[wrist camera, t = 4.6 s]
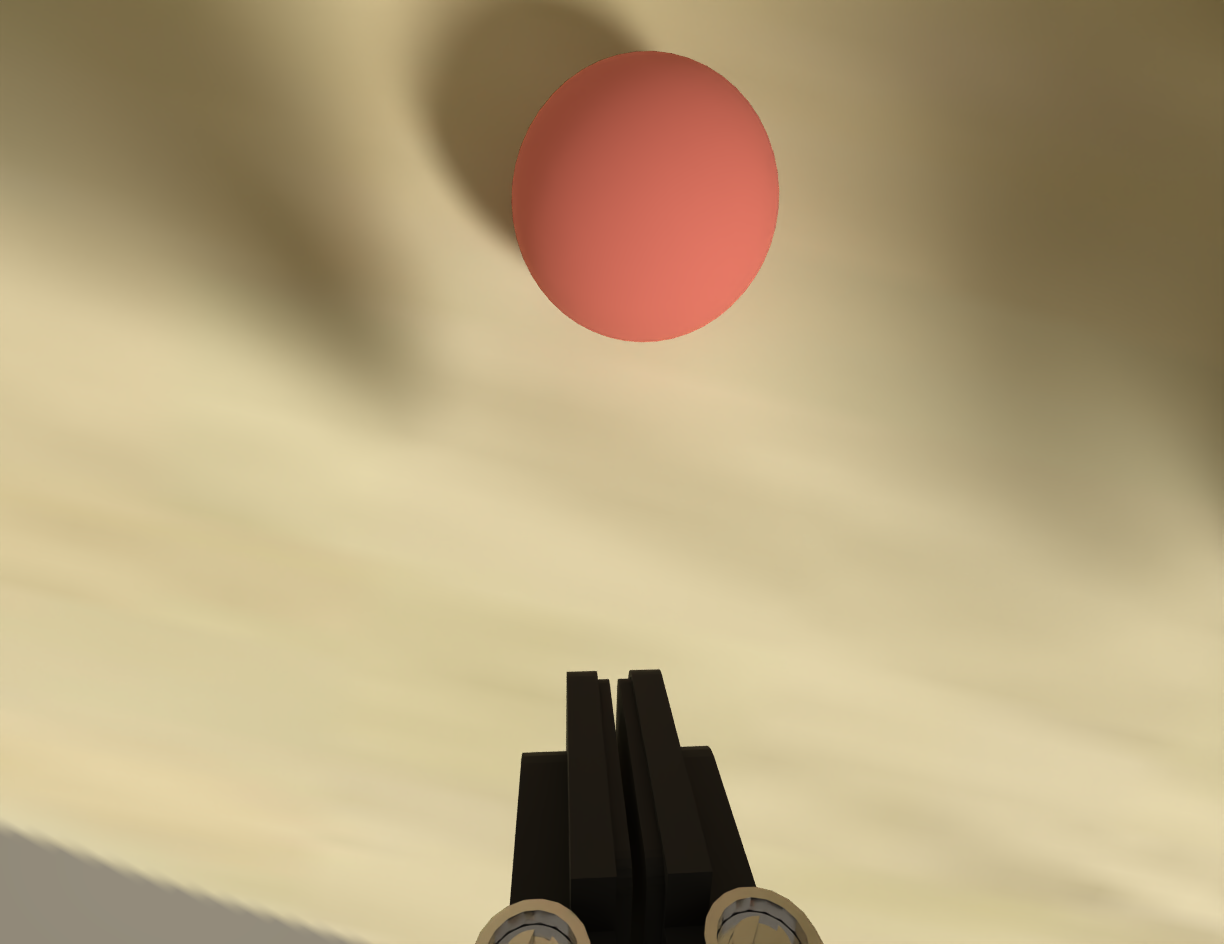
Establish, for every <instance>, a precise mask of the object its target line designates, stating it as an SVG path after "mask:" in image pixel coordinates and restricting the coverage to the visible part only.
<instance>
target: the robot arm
mask: <svg viewBox="0 0 1224 944" xmlns="http://www.w3.org/2000/svg"><path fill="white" fill-rule="evenodd" d="M475 944H823V942H822V940H821V938H820V936H819V934H818V933H817V931H816V929H815V927H814V926H813V925H812V923H811V922H810V920H809V919H808V918H807V916H806V915H805V913H804V912H803V911H802V910H800V909H799V908H798V907H797V906H796V905H795V904H793V903H792V902H791V901H790V900H789V899H787V898H785V897H783V896H781V895H779V894H777V893H775V892H774V891H771V890H767V889H763V888H758V887H756V885H755V882H754V878H753V875H752V872H751V869H750V866H749V863H748V860H747V857H746V854H745V851H744V848H743V845H742V841H741V838H740V835H739V832H738V829H737V826H736V823H735V820H734V817H733V814H732V811H731V808H730V805H729V801H728V798H727V795H726V792H725V789H724V786H723V783H722V780H721V777H720V774H719V771H718V768H717V764H716V761H715V758H714V755H713V753H712V751H711V749H710V748H709V746H693V747H680V743H679V739H678V735H677V731H676V728H675V724H674V720H673V716H672V712H671V708H670V704H669V701H668V697H667V693H666V689H665V685H664V681H663V678H662V674H661V671H660V670H659V669H658V670H630V671H629V677H628V679H618V684H617V712H616V730H615V722H614V714H613V706H612V698H611V690H610V682H609V679H599V680H598V676H597V671H582V672H567V709H566V751H559V752H532V753H522V759H521V771H520V783H519V796H518V809H517V821H516V834H515V846H514V859H513V871H512V884H511V897H510V905H509V906H507V907H506V908H504V909H503V910H502V911H500V912H499V913H497V914H496V915H495V916H493V917H492V918H491V919H490V921H489V922H488V923H487V924H486V926H485V927H484V928H483V929H482V931H481V932H480V934H479V936H478V938H477V941H476V943H475Z"/></svg>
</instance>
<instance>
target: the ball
mask: <svg viewBox="0 0 1224 944" xmlns="http://www.w3.org/2000/svg"><path fill="white" fill-rule="evenodd" d="M778 204H779V184H778V172H777V167H776V162H775V157H774V153H773V150H772V147H771V144H770V141H769V138H768V135H767V133H766V131H765V129H764V127H763V125H762V123H761V121H760V119H759V117H758V115H757V114H756V112H755V111H754V109H753V108H752V106H751V105H750V103H749V102H748V101H747V100H746V98H745V97H744V96H743V95H742V94H741V93H740V92H739V90H738V89H737V88H736V87H735V86H733V85H732V84H731V83H730V82H729V81H728V80H726V79H725V78H724V77H723V76H722V75H720V74H718V73H717V72H715V71H714V70H712V69H711V68H709V67H708V66H705V65H703V64H701V63H699V62H697V61H694V60H692V59H690V58H687V57H683V56H679V55H676V54H672V53H665V52H657V51H638V52H630V53H624V54H619V55H615V56H612V57H609V58H606V59H603V60H600V61H598V62H596V63H594V64H592V65H590V66H588V67H586V68H584V69H582V70H581V71H579V72H578V73H577V74H575V75H574V76H572V77H571V78H570V79H568V80H567V81H566V82H565V83H564V84H563V85H562V86H560V87H559V88H558V89H557V90H556V91H555V92H554V93H553V94H552V95H551V97H550V98H549V99H548V100H547V102H546V103H545V104H544V105H543V107H542V108H541V109H540V110H539V112H538V113H537V115H536V117H535V118H534V120H533V122H532V123H531V125H530V127H529V129H528V131H527V133H526V135H525V138H524V140H523V142H522V145H521V147H520V151H519V154H518V158H517V161H516V165H515V171H514V177H513V183H512V213H513V223H514V228H515V233H516V237H517V241H518V244H519V247H520V250H521V253H522V256H523V259H524V261H525V263H526V265H527V267H528V269H529V271H530V273H531V275H532V277H533V278H534V280H535V281H536V283H537V284H538V286H539V288H540V289H541V290H542V291H543V293H544V294H545V295H546V296H547V297H548V299H549V300H550V301H551V302H552V303H553V304H554V305H555V306H556V307H557V308H558V309H559V310H560V311H562V312H563V313H564V314H565V315H566V316H568V317H569V318H571V319H572V320H573V321H575V322H576V323H578V324H580V325H582V326H583V327H585V328H587V329H589V330H591V331H593V332H596V333H599V334H601V335H604V336H607V337H610V338H615V339H619V340H624V341H634V342H653V341H661V340H667V339H672V338H676V337H679V336H682V335H685V334H688V333H690V332H693V331H695V330H697V329H699V328H701V327H703V326H705V325H706V324H708V323H710V322H711V321H713V320H714V319H716V318H717V317H719V316H720V315H721V314H722V313H723V312H725V311H726V310H727V309H728V308H729V307H731V306H732V305H733V304H734V302H735V301H736V300H737V299H738V298H739V297H740V296H741V295H742V294H743V293H744V292H745V290H746V289H747V288H748V286H749V285H750V284H751V282H752V281H753V279H754V278H755V276H756V275H757V273H758V271H759V269H760V267H761V266H762V264H763V262H764V260H765V257H766V255H767V252H768V250H769V248H770V245H771V242H772V238H773V234H774V231H775V227H776V221H777V214H778Z"/></svg>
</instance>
